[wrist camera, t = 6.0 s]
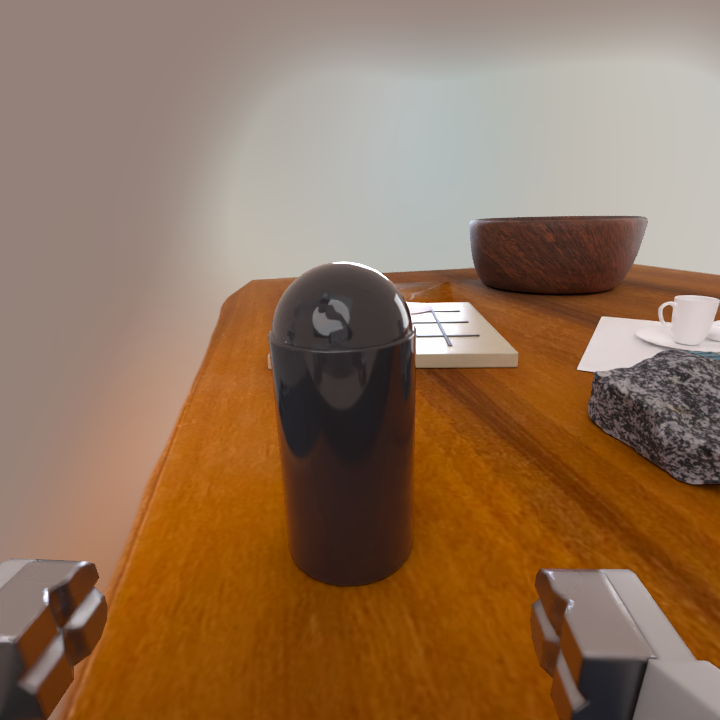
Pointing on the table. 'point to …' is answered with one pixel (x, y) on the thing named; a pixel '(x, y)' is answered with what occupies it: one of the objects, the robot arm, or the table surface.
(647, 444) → the rock
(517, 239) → the wooden bowl
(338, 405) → the dome-topped canister
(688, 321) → the teacup and saucer
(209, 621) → the table surface
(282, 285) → the table surface
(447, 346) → the board
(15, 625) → the robot arm
